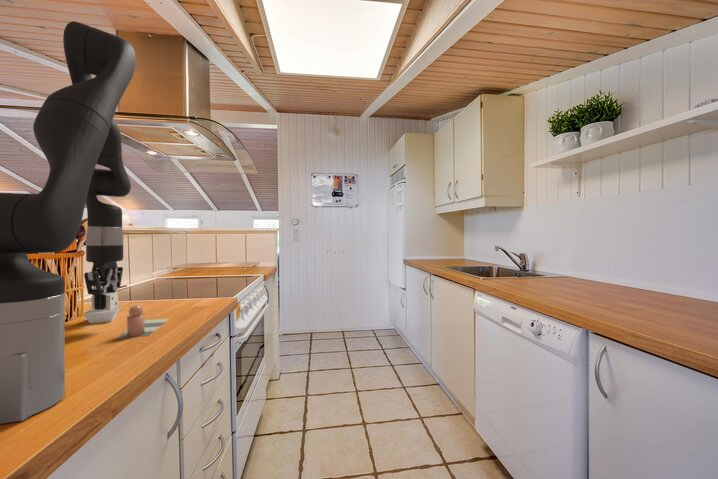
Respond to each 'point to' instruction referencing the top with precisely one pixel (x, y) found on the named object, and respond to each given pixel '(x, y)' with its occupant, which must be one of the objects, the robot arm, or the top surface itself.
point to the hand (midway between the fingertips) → (105, 306)
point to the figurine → (101, 315)
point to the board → (148, 327)
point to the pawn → (135, 321)
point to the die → (108, 301)
